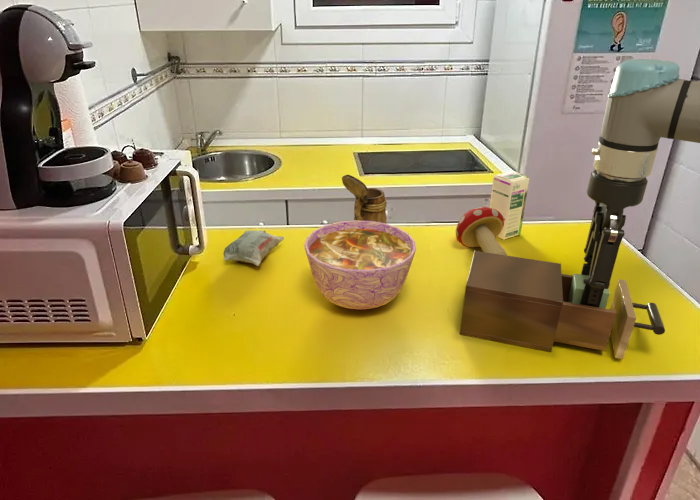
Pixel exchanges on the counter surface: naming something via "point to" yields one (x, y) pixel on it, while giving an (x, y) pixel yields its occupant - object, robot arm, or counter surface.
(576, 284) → the block
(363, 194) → the wooden mug
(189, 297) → the counter surface
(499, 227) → the decorative mushroom
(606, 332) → the drawer
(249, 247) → the packaged food
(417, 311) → the counter surface
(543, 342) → the cabinet
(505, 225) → the syrup box
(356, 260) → the bowl of food
